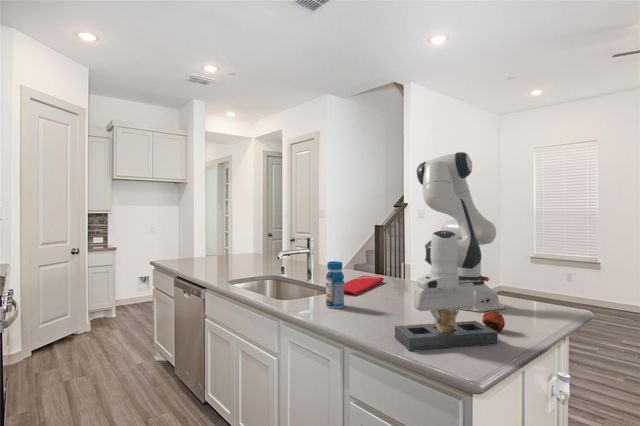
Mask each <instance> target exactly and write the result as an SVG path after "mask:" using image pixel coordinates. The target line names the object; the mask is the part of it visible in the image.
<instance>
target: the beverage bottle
mask: <svg viewBox="0 0 640 426" xmlns="http://www.w3.org/2000/svg"><path fill="white" fill-rule="evenodd" d="M326 265H327V266H326V267H327V270H328V272H327V273H326V276H325V279H326V281H325V298H326V299H325V300H326V301H325V306H326V307H327V308H329V309H341V308H343V307H344V306H345V295H344V283H345V281H344V279H345V276H344V273H343V272H342V270H343V262H342V261H327V264H326Z"/></svg>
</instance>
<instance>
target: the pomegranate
mask: <svg viewBox="0 0 640 426" xmlns="http://www.w3.org/2000/svg"><path fill="white" fill-rule="evenodd" d="M499 312H500V311H495V310H490V311H488V312H487V311H485V313H483V314H482V317H481V318H482V324H483V325H485V326H487V327H489V328H491V329H493V330H495V331H497V332H501V331H503V329H505V326H506V322H505V319H504V316H503V315H502V314H500V313H499Z"/></svg>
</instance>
